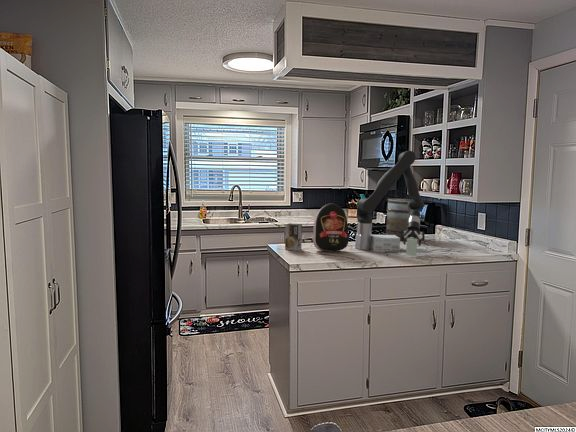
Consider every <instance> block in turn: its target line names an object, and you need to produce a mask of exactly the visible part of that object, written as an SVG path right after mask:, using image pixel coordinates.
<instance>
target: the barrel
mask: <svg viewBox="0 0 576 432" xmlns="http://www.w3.org/2000/svg"><path fill="white" fill-rule="evenodd" d="M411 200H414V199H411V198H387V212H386V213H387V214H386V229H385V235H396V236H397V237H399V238H400V242H403V239H401V233H402V230H404V231H407V227H408V219H409V209H408V206H407V204H408V202H409V201H411ZM404 236H406V233H405V234H404V235H403V237H404ZM409 238H410V237H409ZM406 242H407V239H406Z"/></svg>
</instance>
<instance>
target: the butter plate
mask: <svg viewBox="0 0 576 432" xmlns="http://www.w3.org/2000/svg"><path fill="white" fill-rule="evenodd" d="M396 252H397V254H399V255H402V256H403V257H405V258H410V259H411V258H417V257H426V255H425V254H423V253H416V256H414V255H406V251H401V252H400V251H396Z"/></svg>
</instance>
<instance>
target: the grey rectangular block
mask: <svg viewBox="0 0 576 432" xmlns="http://www.w3.org/2000/svg"><path fill="white" fill-rule="evenodd" d="M417 249H418V238H414V237H411V238H409V237H408V238H407V241H406V251H405V252H406V255H414V256H416V253H417ZM416 257H417V256H416Z"/></svg>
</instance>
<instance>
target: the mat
mask: <svg viewBox="0 0 576 432" xmlns="http://www.w3.org/2000/svg"><path fill="white" fill-rule="evenodd" d="M417 253H419V254H427V253H432V250H431V251H430V250H427V249H424V248H417Z"/></svg>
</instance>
